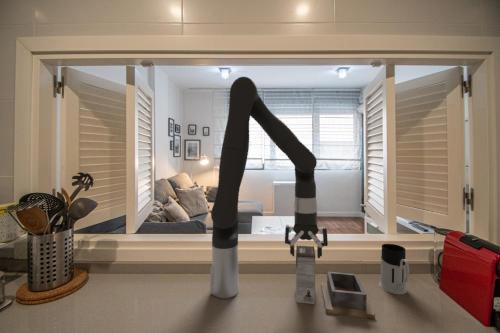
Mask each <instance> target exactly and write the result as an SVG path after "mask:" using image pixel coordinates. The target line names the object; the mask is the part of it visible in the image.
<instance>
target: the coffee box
mask: <svg viewBox="0 0 500 333" xmlns="http://www.w3.org/2000/svg"><path fill="white" fill-rule="evenodd" d="M295 250H296V251H295V253H296V254H295V302H296V303H299V304H302V303H303V304H311V305H315V304H316V250H315V246H310V245H308V246H307V245H296V249H295Z"/></svg>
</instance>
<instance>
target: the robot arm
mask: <svg viewBox="0 0 500 333" xmlns="http://www.w3.org/2000/svg"><path fill="white" fill-rule="evenodd" d="M228 104H229V105H228V116H227V122H226V126H225V131H224V134H223V135H224V136H223V141H222V146H221V152H220V157H219V159H220V160H219V168H218V183H217V189H216V194H215V198H214V203H213V206H212V208H211V212H210V216H211V217H210V218H211V221H212V232H211V233H212V236H211V259H212V260H211V262H212V264H211V266H210V268H209V270H210V271H209V273H210V274H209V276H210V279H209V280H210V281H209V282H210V283H209V284H210V285H209V286H210V287H209V288H210V289H209V290H210V291H209V292H210V295H212V296H214V297H215V298H218V299H222V300H224V299H225V300H227V299H231V298H233V297H235V296H237V295H238V293H239V209H238V208H239V196H240V189H241V184H242V182H243V177H244V175H245V170H246V165H247V162H248V156H249V149H250V120H251V119H250V118H252V119H253V120H255V122H257V124H258V125H259V126H260V127H261V129H263V131H264V132H265V134H266V135H267V136H268V137H269V138H270V139H271V141H272V142H273V143H274V145H275V146H276V147H278V149H279V150H280V151H281V152H282V153H283V154H285V156H286V157H287V158H288V159H289V161H290V162H291V163H292V164H293V166H294V176H295V183H294V203H293V204H294V206H293V208H294V211H293V213H294V215H293V216H294V224H293V226H292V225H291V226H290V225H289V224H286V225H285V231H284V232H285V233H284V244H286V245H289V252H290V255H291V256H292V257H295V244H296V243H297V242H298V241H299V239H300V240H302V241H304V240H307V241H311V240H313V242H314V243H315V244H316V245H317V246H316V250H317V251H316V252H317V254H316V255H317V259H320V258H321V257H322V256H323V247H328V246H329V245H328V231H327V230H328V229H327V227H326V226H322V227H318V207H317V206H318V203H317V184H316V181H315V169H316V168H317V164H318V160H317V157H316V156H315V154H314V153H312V151H311V150H310V149H309V148H308V147H307V146H306V145H305V144H304V143H302V142H301V141H300V140H299V138H298V136H297V135H296V134H295V133H294V132H293V131H292V130H291V129H290V127H288V126H287V124H285V122H284V121H282V120H281V118H279V117H278V116H276V115H275V114H274V113H273V112H272V111H271V110H270V109H269V108H268V106H267V105H266V104H265V103H264V101H263V100H262V98H261V96H260V94H259V91H258V87H257V85H256V83H255V82H254V81H253V80H252V78H250V77H248V76H239V77H238V78H236V79H235V80H234V81H233V83H232V84H231V86H230V89H229V101H228ZM292 231H293V232H294V233H295V234H294V236H293V237H292V238H291V239H289V238H290V233H291V232H292ZM319 232H320V234H321V235H322V240H320V239H319V237H318V236H317V234H318V233H319Z"/></svg>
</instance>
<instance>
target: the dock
mask: <svg viewBox="0 0 500 333" xmlns="http://www.w3.org/2000/svg"><path fill="white" fill-rule="evenodd" d="M326 279H327V280H326V282H320V288H321V293H322V297H323V298H322V299H323V304H324V310H325V314H333V315H334V314H335V315H339V316H340V315H342V316H349V317H356V318H358V317H359V318H365V319H366V318H367V319H373V320H374V319H376V314H375V312H374V310H373V308H372V305H371V304H370V301H369V300H368V297H367V293H366V291H365V288H364V287H363V285H362V282H361V280H360V278H359V276H358V275H357V274H356V273H348V272H347V273H346V272H337V271H334V272H333V271H327V272H326Z"/></svg>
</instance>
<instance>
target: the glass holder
mask: <svg viewBox="0 0 500 333" xmlns="http://www.w3.org/2000/svg"><path fill="white" fill-rule="evenodd" d="M406 253H407V252H406V248H405V247H404V246H401V245H398V244H393V243H384V244H382V245H381V256H380V281H379V283H378V285H379V287H380V288H381V289H382V290H384V291H385V292H388V293H390V294H395V295H405V294H407V292H408V290H407V288H406V283H407V282H408V280H409V278H410V277H409V276H410V264H409V262H408V260H407V259H406Z"/></svg>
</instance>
